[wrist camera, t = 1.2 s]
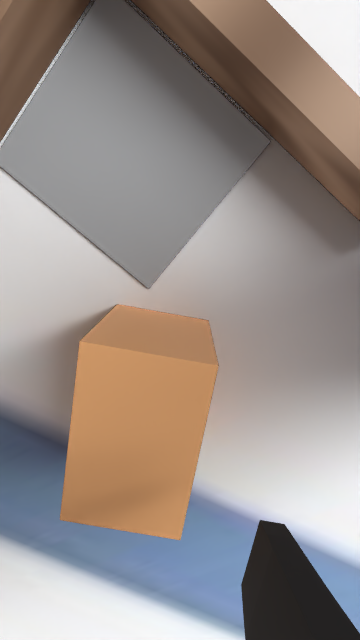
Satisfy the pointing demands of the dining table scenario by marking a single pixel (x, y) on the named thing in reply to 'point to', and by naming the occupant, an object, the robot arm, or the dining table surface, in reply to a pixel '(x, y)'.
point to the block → (138, 421)
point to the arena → (215, 74)
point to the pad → (130, 141)
